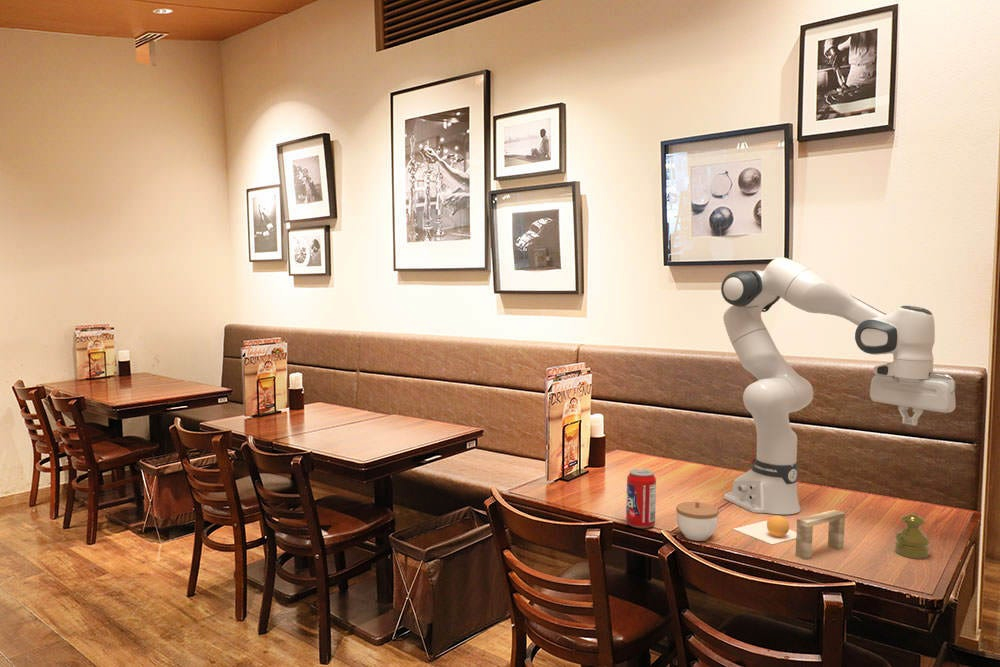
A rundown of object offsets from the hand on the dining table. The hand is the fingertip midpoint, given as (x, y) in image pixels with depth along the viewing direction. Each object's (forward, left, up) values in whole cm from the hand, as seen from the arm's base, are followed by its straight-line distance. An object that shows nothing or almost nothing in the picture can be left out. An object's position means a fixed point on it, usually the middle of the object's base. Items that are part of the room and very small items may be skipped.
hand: (909, 424), depth 185 cm
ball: (-20, -24, -28) cm, 42 cm away
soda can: (-44, -50, -31) cm, 74 cm away
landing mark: (-23, -24, -31) cm, 45 cm away
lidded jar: (-30, -43, -31) cm, 61 cm away
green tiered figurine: (+5, -5, -31) cm, 32 cm away
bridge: (-7, -24, -31) cm, 40 cm away
